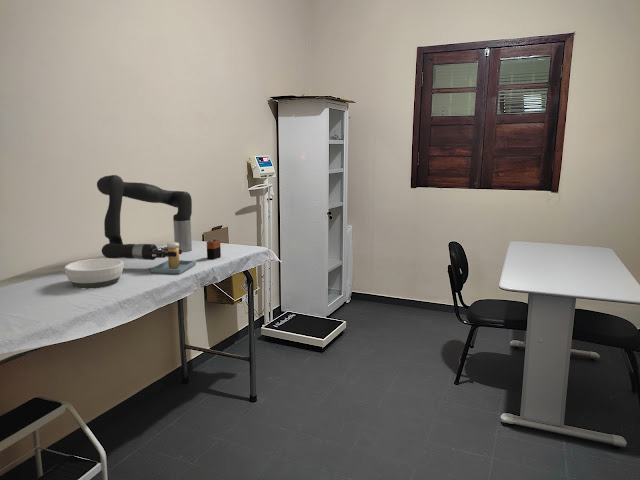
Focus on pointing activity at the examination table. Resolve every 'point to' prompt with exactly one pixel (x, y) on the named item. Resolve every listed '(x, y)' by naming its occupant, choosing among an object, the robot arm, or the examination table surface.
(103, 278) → the bowl
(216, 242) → the battery
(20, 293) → the examination table surface
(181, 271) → the tray
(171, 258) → the pill bottle
